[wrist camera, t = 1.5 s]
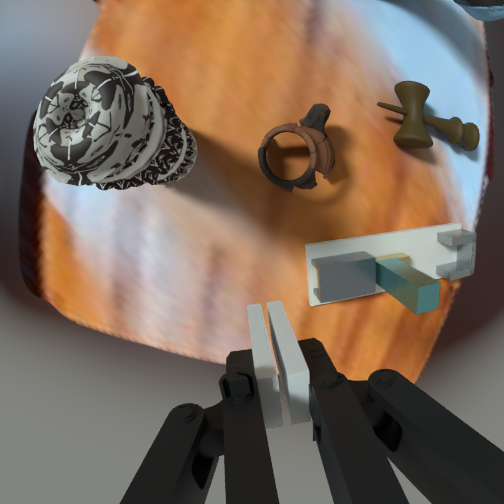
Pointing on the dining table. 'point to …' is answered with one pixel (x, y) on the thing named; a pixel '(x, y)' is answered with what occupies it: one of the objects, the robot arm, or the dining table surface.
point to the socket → (458, 254)
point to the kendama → (427, 120)
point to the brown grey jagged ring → (316, 142)
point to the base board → (387, 251)
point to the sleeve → (345, 276)
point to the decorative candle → (111, 128)
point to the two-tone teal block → (406, 283)
